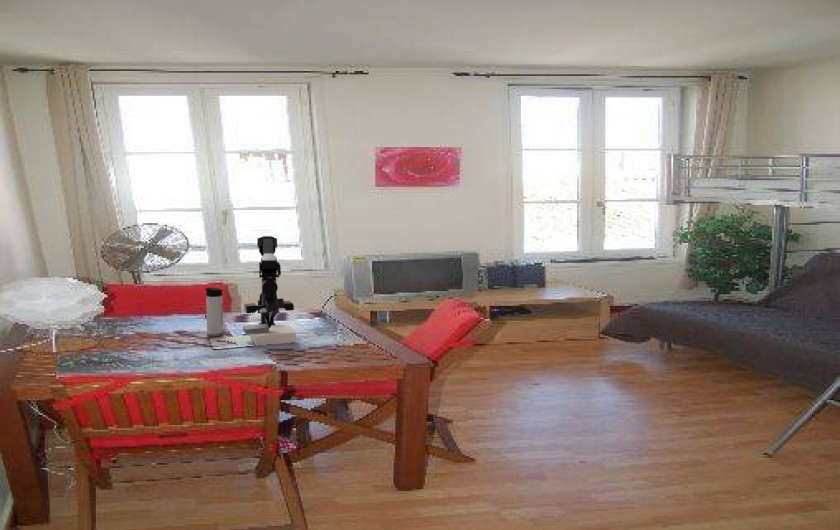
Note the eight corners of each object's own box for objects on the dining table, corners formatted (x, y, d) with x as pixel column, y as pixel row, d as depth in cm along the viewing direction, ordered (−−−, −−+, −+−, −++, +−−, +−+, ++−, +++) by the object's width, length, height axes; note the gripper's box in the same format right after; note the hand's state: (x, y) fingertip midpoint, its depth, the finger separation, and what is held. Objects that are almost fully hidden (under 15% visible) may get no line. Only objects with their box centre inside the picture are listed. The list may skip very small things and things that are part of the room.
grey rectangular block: (246, 334, 207) (245, 329, 207) (243, 330, 212) (243, 325, 212) (269, 332, 211) (269, 327, 211) (266, 328, 216) (265, 323, 216)
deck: (249, 336, 218) (249, 327, 217) (288, 333, 225) (288, 324, 225) (255, 346, 206) (255, 336, 205) (296, 342, 213) (296, 332, 212)
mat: (209, 339, 212) (209, 338, 211) (248, 336, 218) (248, 335, 218) (213, 350, 198) (213, 349, 198) (254, 346, 205) (254, 345, 205)
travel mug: (203, 334, 218) (202, 287, 216) (218, 331, 223) (217, 285, 220) (210, 337, 214) (209, 289, 211) (225, 334, 219) (225, 287, 216)
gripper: (248, 295, 200) (248, 334, 203) (297, 292, 209) (297, 330, 211) (243, 289, 210) (244, 327, 212) (290, 287, 219) (290, 323, 221)
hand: (269, 327), depth 214 cm, fingers closed
